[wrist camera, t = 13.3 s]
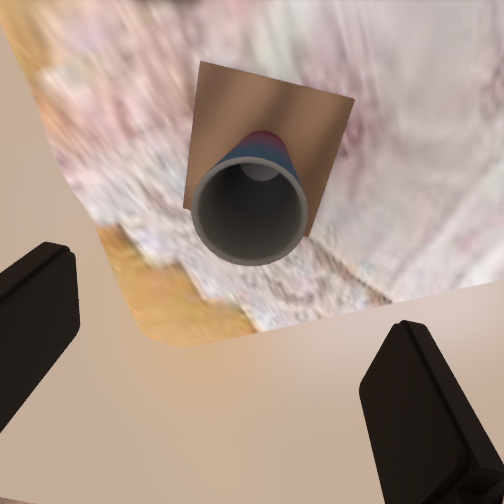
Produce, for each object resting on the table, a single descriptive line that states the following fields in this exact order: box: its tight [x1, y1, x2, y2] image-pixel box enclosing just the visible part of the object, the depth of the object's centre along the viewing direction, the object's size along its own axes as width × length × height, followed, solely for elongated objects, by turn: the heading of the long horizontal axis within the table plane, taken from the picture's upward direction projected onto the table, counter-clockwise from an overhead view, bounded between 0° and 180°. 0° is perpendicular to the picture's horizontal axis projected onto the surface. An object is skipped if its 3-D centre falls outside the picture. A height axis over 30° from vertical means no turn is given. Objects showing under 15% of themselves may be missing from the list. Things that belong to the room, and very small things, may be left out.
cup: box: [191, 131, 308, 266], centre depth 25 cm, size 7×7×15 cm
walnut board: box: [183, 61, 355, 237], centre depth 33 cm, size 14×14×1 cm
